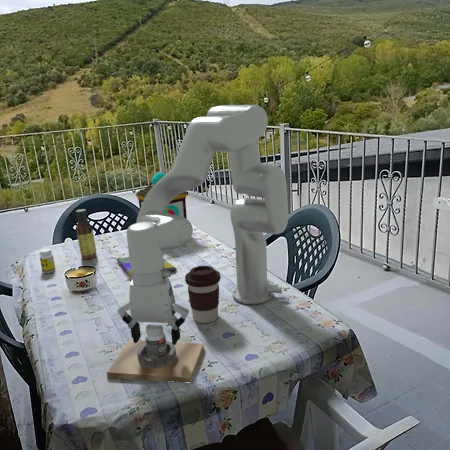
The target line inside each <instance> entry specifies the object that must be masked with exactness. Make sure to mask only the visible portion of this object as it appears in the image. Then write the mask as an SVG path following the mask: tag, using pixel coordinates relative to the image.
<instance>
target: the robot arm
mask: <svg viewBox="0 0 450 450" xmlns="http://www.w3.org/2000/svg"><path fill="white" fill-rule="evenodd" d="M268 123H269V121H268V114H267V112H266V111H265V109H264V108H263V107H262V106H260V105H257V104H224V105H223V104H221V105H216V106H213V107H211V108H210V109H208V111H207V113H206V116H205V115H204V116H198V117H196V118H193V119H192V120H191V121H190V123H189V124H188V126H187V128H186V131H185V133H184V135H183V139H182V141H181V144H180V147H179V149H178V152H177V155H176V157H175V160H174V162H173V165H172V167H171V169H170V170H169V171H168V172H167V173H165V176H164V177H162V178H161V179H160V180H159V181H158V182H157V183H156V184H155V185H154V186H153V187H152V189H151V190H150V191H149V192H148V194H147V195H146V197H145V199H144V201H143V203H142V206H141V209H140V208H139V212H138V214H137V218H136V223H135V222H134V223H133V224H131V225H130V226H128V227H127V229H126V242H127V248H128V249H127V251H128V257H129V258H130V265H131V273H132V281H130V285H129V300H128V301H129V302H128V303H126V304H124V305H122V306H120V307H119V308H118V309H117V313H118V315H119V316H120V317H121V319H122V322H124V323H125V324H126V325H127V327H128V328H129V329H130V335H131V338H132V340H133V341H134V343H137V342H138V340H140V339H141V337H142V333H141V325H140V323H161V324H167V325H169V326H170V327H171V330H170V334H171V342H172V344H173V345H176V343H177V342H178V341H180V339H181V329H180V327H181V326H182V325H183V324H184V323H185V321H186V319H187V318H188V315H189V312H190V310H189V309H188V308H185V307H183V306H181V305H180V304H178V303H176V301H175V300H176V299H175V295H174V289H173V286H172V283H171V280H170V278H171V276H172V273H171V272H170V271H166V269H165V267H164V260H163V258H164V254H163V253H164V252H165V251H169V250H174V249H178V248H181V247H182V248H183V246H186V244H188V243H189V242H190V240H191V238H192V237H193V234H194V228H193V225H192V223H191V222H190V220H189V219H188V218H187V219H186V218H184V217H181V216H177V215H171V214H166V213H164V210H165V208H166V207H167V205H168V204H169V203H170V202H171V201H172V200H173V199H174V198H175V197H176V196H178V195H180V194H182V193H184V192H188V191H191V190H193V189H195V188H198V187H199V186H201V185H203V183H205V181H206V178H207V176H208V173H209V170H210V167H211V165H212V161H213V160H214V159H213V158H214V156H215V153H217V152H220V153H221V152H222V153H228V158H229V165H230V175H231V183H232V188H233V190H234V192H236V194H239V195H242V196H246V197H243V198H238V199H237V200H235V201H234V202H233V204H232V206H231V207H230V212H229V213H230V222H231V225H232V229H233V234H234V243H235V245H234V249H235V266H236V267H235V269H236V272H235V273H236V288H235V289H233V290H232V299H233V300H235V302H238V303H239V304H243V305H244V304H245V305H260V303H261V304H263V303H266V301H267V302H268V301H270V300H271V299H272V298H273V295H272V294H282V293H283V292H282V291H283V290H282V289H283V288H282V286H279V284H277V283H276V284H275V283H274V284H272V283H270V279H269V278H268V263H267V261H268V259H267V258H268V257H267V255H268V254H267V251H268V250H267V249H268V248H267V240H266V238H265V235H264V233H265V234H270V235H279V234H281V233H283V232H284V231H285V230H286V228H287V226H288V221H289V202H288V188H287V186H288V185H287V178H286V175H285V172H284V170H283V169H282V167H280V166H279V165H276V164H272V163H262V162H261V160H260V152H259V146H258V142H257V140H258V139H260V138H262V137H263V135H264V134H265V132H266V130H267V128H268ZM247 196H248V197H247ZM252 197H255V198H252ZM261 198H263V199H261ZM127 311H129V312H130V314H129V313H128V312H127ZM176 313H177V314H180V316H179V318H178V317H177V316H176V315H175V314H176Z"/></svg>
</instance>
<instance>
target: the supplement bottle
mask: <svg viewBox="0 0 450 450" xmlns="http://www.w3.org/2000/svg"><path fill="white" fill-rule="evenodd" d="M39 255H40V256H39V261H40V265H41V266H40V267H41V271H42V273H43V274H49V273H50V274H51V273H52V272H55V271H56V266H55V259H54V254H53V251H52V249H51V248H43V249H41V250H39Z"/></svg>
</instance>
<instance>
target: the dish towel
mask: <svg viewBox="0 0 450 450" xmlns="http://www.w3.org/2000/svg"><path fill="white" fill-rule="evenodd" d="M163 260H164V267H165V269H166V271H170V272H171V274H174V273H176V272H177V268H176V266H174V265H172V264H171V263H170V262H168V261H167V260H166V259H165V257H163ZM116 261H117V263H118V265H119V267H120V269H121V270H122V271H123V273H124V274H125V276H126V277H127V279H128V280H129V281H130V282H131V281H132V273H131V265H130V258H129V256H127V257H117V258H116Z"/></svg>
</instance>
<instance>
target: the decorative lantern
mask: <svg viewBox="0 0 450 450" xmlns="http://www.w3.org/2000/svg"><path fill="white" fill-rule="evenodd" d="M165 175H166V173H163V172H161V171H159V172H156V173H155V174H154V175H153V177H152V178H151V182H150V183H149V185H147V186H146V187H144V188H142V189H139V191H137V192H136V193H135V196H136V198H137V199H138V207H139V210H140V209H141V206H142V203H143V201H144V199H145V197H146V195H147V194H148V192H149V191H150V190H151V189H152V187H153V186H154V185H155V184H156V183H157V182H158V181H159V180H160V179H161V178H162V177H164V176H165ZM187 195H188V191H186V192H184V193H182V194H180V195H178V196H176V197H175V198H174V199H173V200H172V201H171V202H170V203H169V204H168V205H167V207H166V208H165V210H164V213H166V214H171V215H177V216H181V217H184V218H186V219H187V220H188V217H187V215H188V213H187V203H186V198H187Z"/></svg>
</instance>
